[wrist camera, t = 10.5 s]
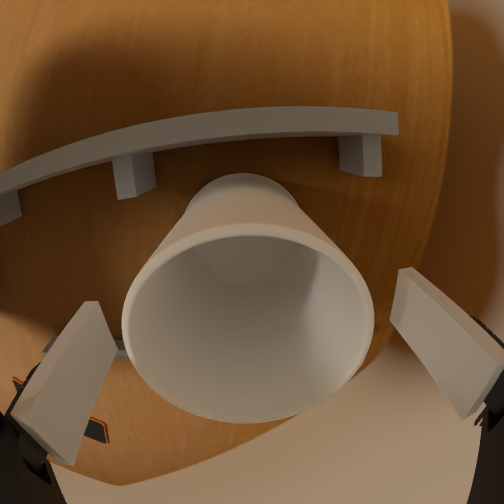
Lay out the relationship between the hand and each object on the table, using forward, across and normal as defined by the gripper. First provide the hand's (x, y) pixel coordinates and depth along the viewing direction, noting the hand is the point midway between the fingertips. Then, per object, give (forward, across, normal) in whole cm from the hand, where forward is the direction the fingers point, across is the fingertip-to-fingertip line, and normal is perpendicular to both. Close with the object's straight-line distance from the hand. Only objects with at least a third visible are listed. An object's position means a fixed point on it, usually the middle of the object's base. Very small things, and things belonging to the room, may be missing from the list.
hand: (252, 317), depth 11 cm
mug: (+9, +1, -1) cm, 9 cm away
